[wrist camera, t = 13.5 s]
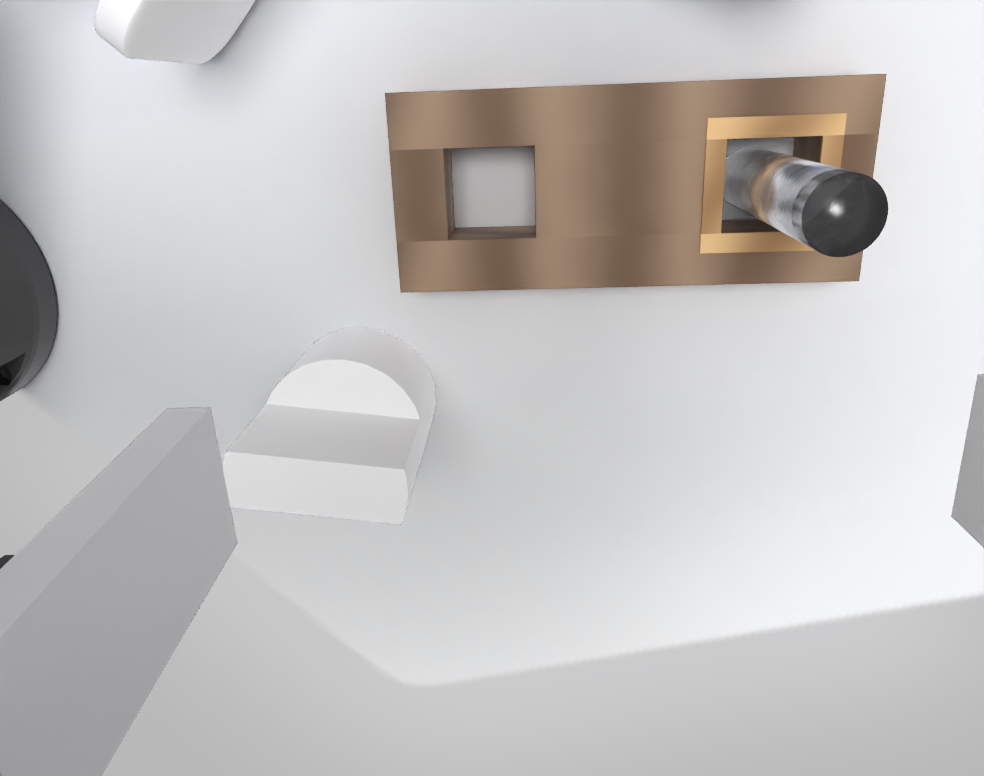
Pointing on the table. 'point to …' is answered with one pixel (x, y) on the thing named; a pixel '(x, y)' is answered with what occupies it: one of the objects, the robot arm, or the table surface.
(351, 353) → the cylinder with rectangular tab
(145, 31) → the cable organizer
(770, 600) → the table surface
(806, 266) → the mount block
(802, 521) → the table surface
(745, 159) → the lock pin
